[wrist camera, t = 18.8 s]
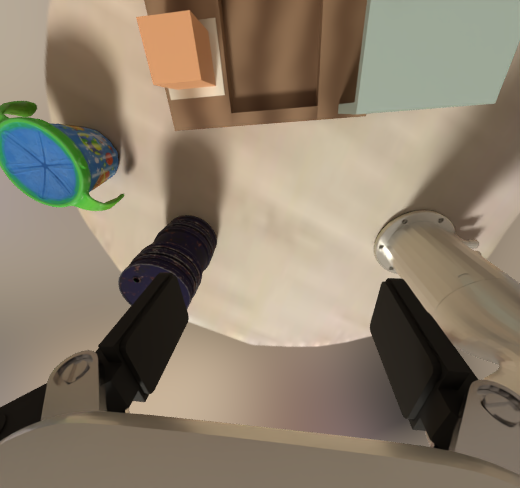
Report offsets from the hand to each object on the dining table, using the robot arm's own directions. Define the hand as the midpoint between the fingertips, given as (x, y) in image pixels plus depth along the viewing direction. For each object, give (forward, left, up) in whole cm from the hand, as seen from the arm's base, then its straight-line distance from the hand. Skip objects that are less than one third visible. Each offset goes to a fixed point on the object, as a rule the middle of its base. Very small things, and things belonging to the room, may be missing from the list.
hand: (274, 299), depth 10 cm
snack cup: (+29, -4, -29) cm, 41 cm away
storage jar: (+17, +12, -29) cm, 35 cm away
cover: (-14, -13, -25) cm, 31 cm away
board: (+1, -13, -28) cm, 31 cm away
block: (+10, -13, -25) cm, 30 cm away
